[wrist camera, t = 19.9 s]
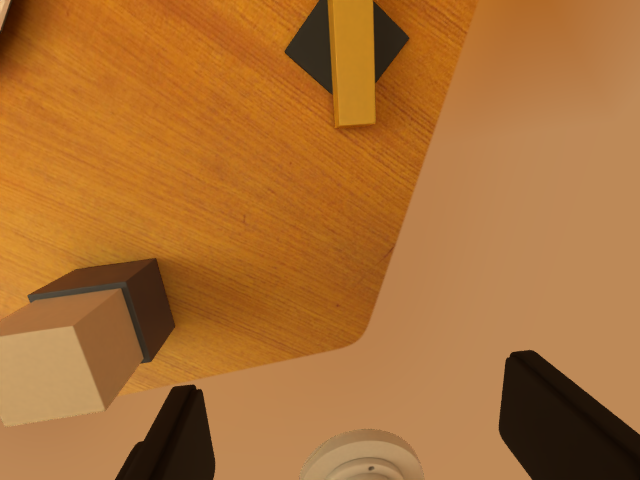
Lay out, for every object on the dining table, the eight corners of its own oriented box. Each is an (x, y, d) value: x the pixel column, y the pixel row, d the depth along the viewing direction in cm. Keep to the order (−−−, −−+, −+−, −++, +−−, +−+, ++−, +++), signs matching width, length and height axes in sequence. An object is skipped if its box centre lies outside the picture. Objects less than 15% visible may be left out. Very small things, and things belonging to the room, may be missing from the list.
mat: (408, 39, 28) (409, 37, 28) (352, 112, 30) (353, 112, 29) (340, -30, 26) (341, -32, 26) (284, 52, 28) (284, 51, 27)
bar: (324, -52, 26) (328, -77, 23) (362, -53, 26) (371, -79, 23) (334, 128, 29) (339, 126, 27) (368, 126, 30) (376, 123, 27)
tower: (155, 258, 32) (78, 317, 20) (175, 326, 34) (115, 415, 22) (75, 269, 31) (-51, 336, 20) (100, 337, 34) (0, 434, 22)
